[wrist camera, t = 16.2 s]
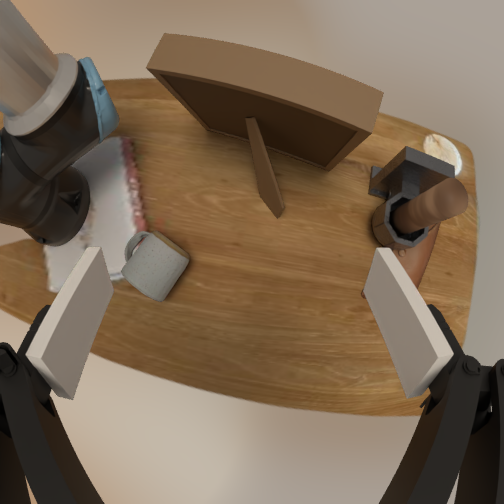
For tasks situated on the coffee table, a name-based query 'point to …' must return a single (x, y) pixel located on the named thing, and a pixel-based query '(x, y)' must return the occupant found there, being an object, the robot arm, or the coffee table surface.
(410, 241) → the bracket
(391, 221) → the brown wooden dowel
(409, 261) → the sunglasses case
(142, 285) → the ceramic mug
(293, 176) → the coffee table surface
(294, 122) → the photo frame
